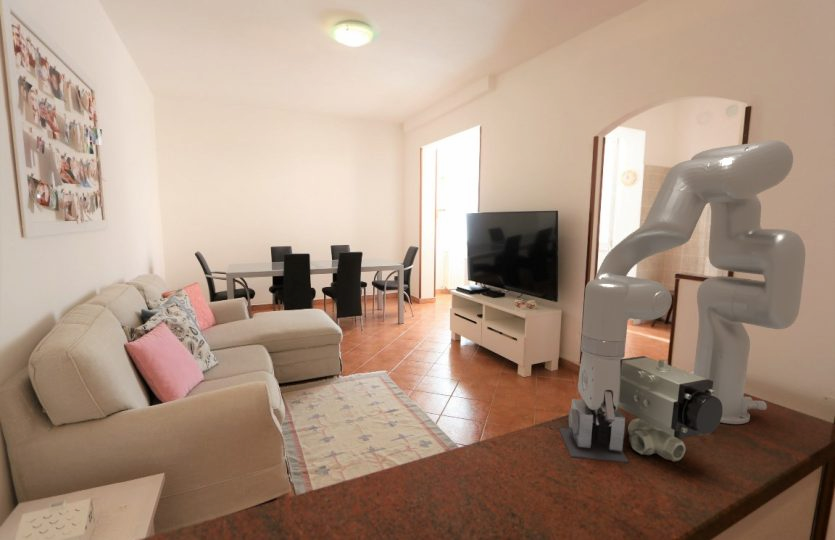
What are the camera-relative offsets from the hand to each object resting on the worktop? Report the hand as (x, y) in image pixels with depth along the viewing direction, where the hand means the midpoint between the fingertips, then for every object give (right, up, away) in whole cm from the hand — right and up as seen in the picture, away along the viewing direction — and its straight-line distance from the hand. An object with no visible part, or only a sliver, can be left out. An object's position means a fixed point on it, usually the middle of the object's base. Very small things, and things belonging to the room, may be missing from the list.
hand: (595, 435), depth 77 cm
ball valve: (+10, -3, -1) cm, 11 cm away
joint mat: (-1, -2, 0) cm, 2 cm away
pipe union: (0, -1, 0) cm, 1 cm away
